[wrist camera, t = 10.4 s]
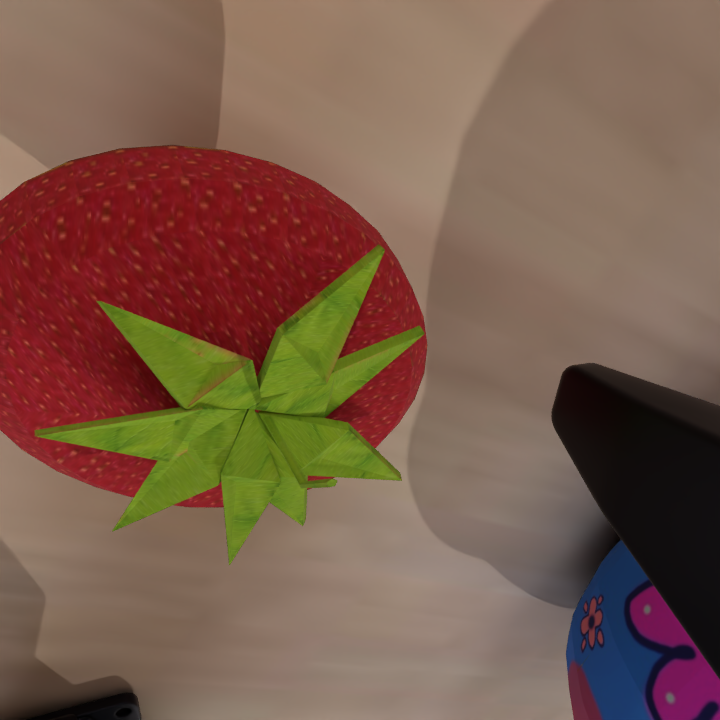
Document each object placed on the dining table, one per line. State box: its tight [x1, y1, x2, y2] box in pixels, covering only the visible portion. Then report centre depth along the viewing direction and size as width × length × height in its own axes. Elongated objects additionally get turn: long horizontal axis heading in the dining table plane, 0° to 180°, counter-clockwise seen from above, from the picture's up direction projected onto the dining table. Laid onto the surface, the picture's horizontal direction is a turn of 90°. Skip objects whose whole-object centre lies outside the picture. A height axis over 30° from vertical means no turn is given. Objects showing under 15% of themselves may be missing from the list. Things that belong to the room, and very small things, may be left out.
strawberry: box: [0, 145, 427, 565], centre depth 11 cm, size 6×8×10 cm
